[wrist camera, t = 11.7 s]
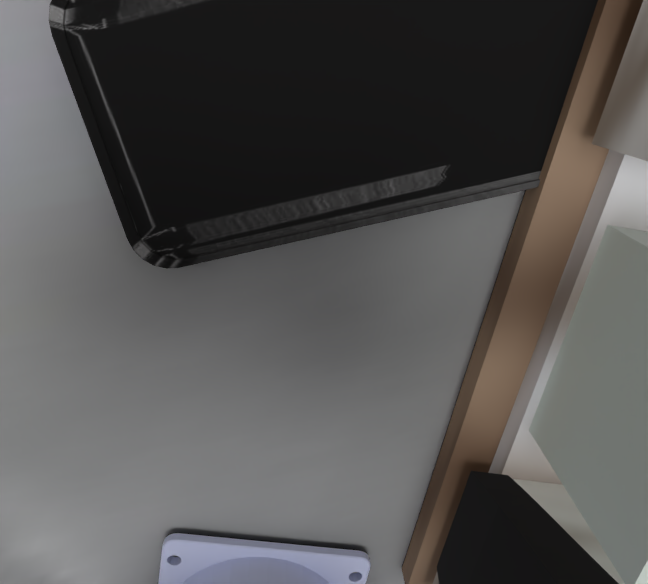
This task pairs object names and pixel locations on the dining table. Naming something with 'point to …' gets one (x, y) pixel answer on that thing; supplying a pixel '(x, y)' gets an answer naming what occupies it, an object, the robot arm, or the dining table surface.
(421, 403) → the dining table surface
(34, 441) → the dining table surface
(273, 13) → the phone
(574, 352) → the block
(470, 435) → the board
